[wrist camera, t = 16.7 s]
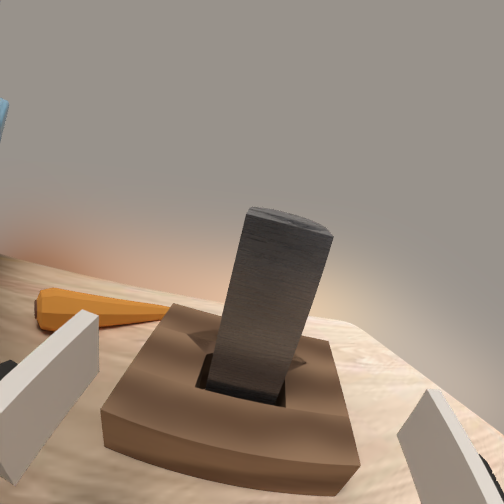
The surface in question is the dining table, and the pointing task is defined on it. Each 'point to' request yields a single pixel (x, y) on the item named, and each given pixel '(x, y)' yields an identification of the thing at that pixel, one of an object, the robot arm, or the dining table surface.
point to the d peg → (267, 303)
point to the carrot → (91, 309)
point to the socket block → (231, 415)
